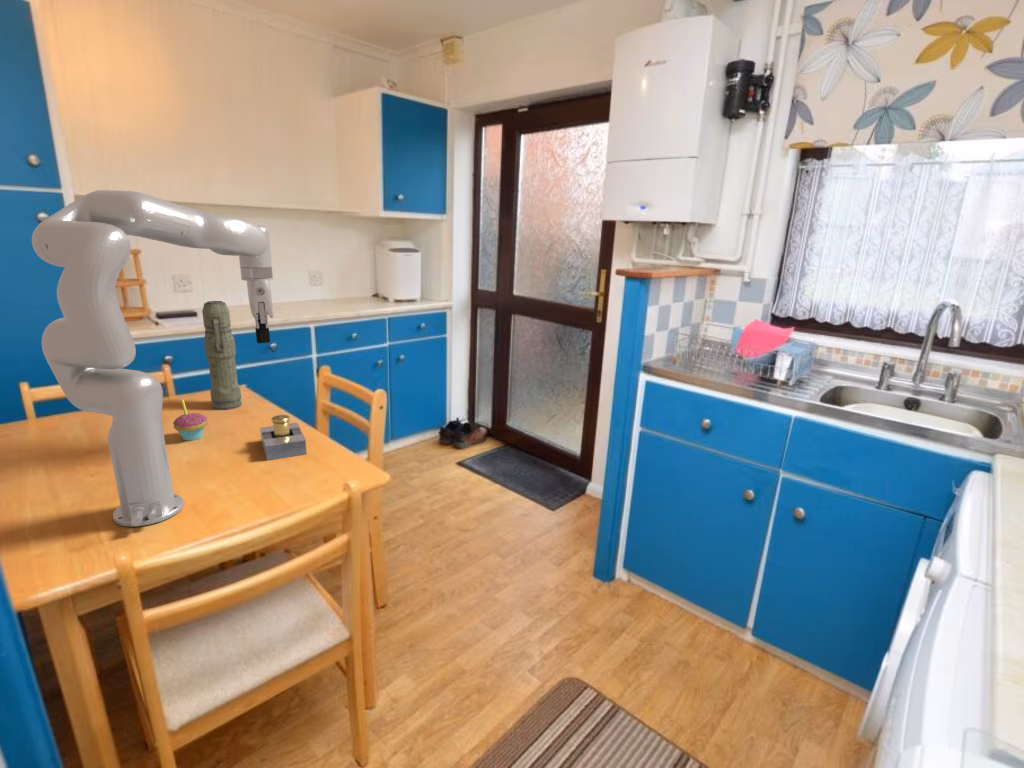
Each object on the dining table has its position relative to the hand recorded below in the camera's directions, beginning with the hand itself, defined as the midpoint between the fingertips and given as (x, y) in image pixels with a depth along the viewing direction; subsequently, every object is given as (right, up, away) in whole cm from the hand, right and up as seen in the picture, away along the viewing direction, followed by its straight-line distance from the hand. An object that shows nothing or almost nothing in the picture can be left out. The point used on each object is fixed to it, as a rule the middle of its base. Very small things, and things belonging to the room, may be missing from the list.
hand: (263, 342), depth 145 cm
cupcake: (-24, -27, +9) cm, 37 cm away
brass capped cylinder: (+4, -29, +4) cm, 30 cm away
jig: (+4, -29, +4) cm, 30 cm away
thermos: (-29, -19, +35) cm, 49 cm away
